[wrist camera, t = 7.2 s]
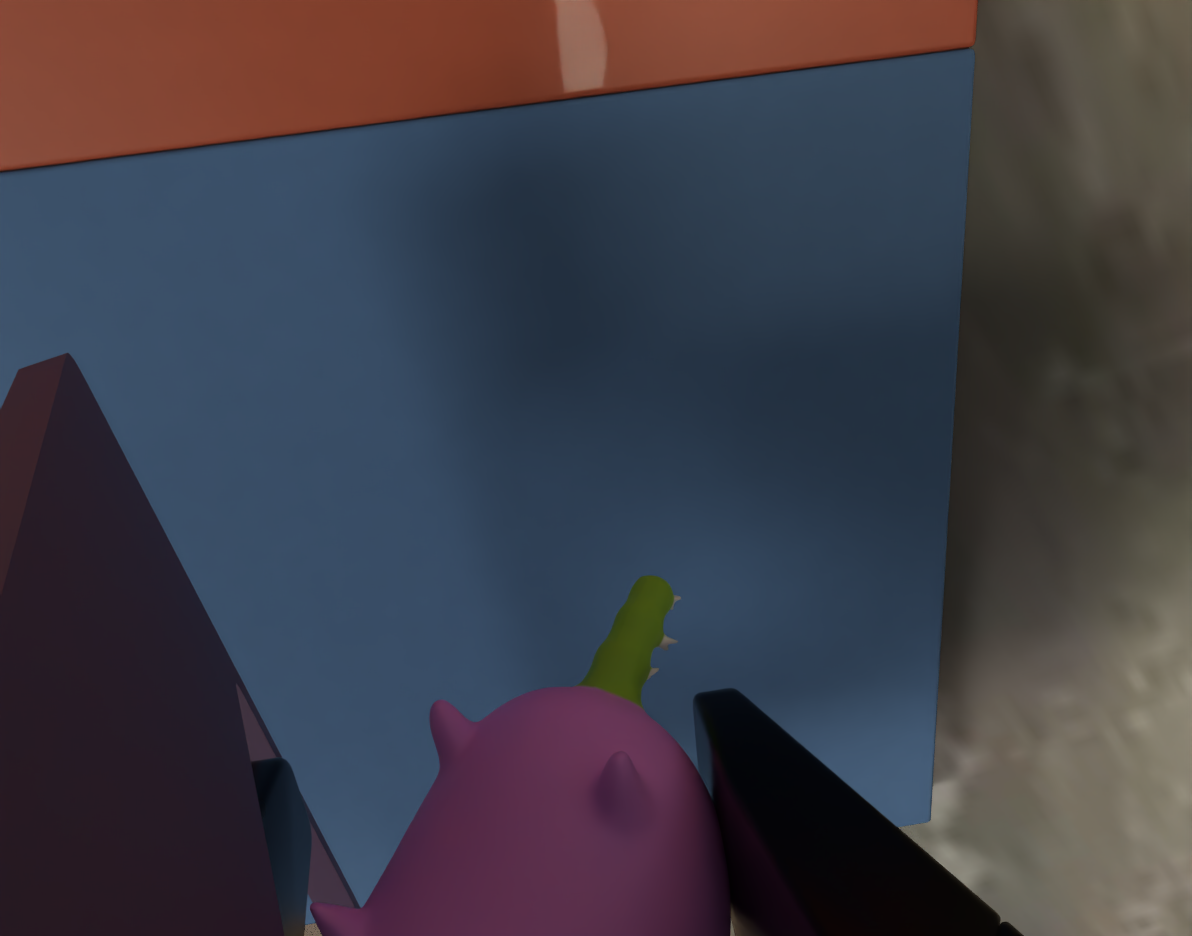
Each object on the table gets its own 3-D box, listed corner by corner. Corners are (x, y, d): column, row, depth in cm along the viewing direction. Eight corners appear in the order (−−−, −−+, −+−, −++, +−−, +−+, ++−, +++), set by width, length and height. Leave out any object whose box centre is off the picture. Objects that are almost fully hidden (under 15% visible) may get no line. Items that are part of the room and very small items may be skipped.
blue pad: (952, 46, 10) (978, 47, 10) (915, 794, 15) (932, 823, 14) (-170, 190, 10) (-209, 199, 9) (160, 918, 14) (146, 953, 14)
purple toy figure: (-753, 1276, 2) (537, 2020, 6) (1184, 321, 3) (1144, 1423, 7) (-78, 394, 7) (331, 1066, 11) (512, 198, 9) (693, 848, 13)
